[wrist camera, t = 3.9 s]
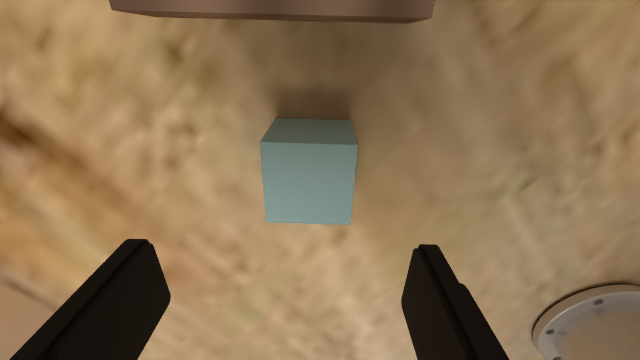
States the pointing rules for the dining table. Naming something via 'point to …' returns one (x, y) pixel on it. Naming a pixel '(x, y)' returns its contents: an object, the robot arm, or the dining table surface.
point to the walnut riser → (284, 9)
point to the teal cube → (309, 171)
